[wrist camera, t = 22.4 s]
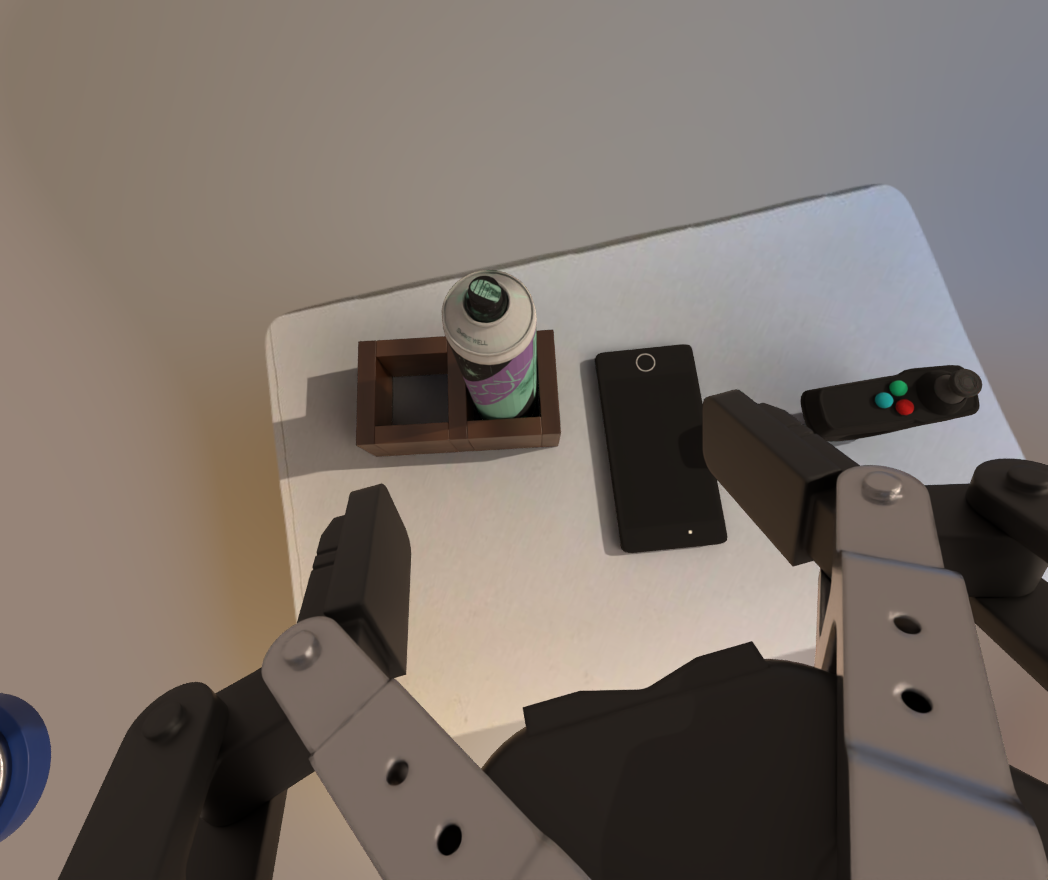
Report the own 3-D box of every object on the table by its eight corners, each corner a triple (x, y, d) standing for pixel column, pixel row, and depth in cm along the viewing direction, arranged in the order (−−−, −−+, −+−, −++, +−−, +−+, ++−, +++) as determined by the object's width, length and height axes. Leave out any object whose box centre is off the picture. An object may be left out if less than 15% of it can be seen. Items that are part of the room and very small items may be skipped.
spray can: (472, 380, 45) (423, 252, 25) (530, 369, 45) (525, 233, 25) (482, 436, 44) (438, 347, 24) (541, 425, 44) (546, 328, 24)
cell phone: (688, 347, 45) (691, 342, 44) (724, 543, 41) (729, 543, 40) (593, 356, 45) (595, 352, 44) (621, 553, 41) (623, 553, 40)
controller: (908, 438, 43) (1018, 406, 33) (771, 457, 43) (841, 431, 33) (893, 392, 44) (996, 348, 34) (759, 411, 44) (823, 372, 34)
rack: (375, 456, 43) (355, 445, 39) (377, 363, 45) (358, 341, 41) (558, 446, 43) (561, 433, 38) (551, 352, 45) (553, 329, 40)
